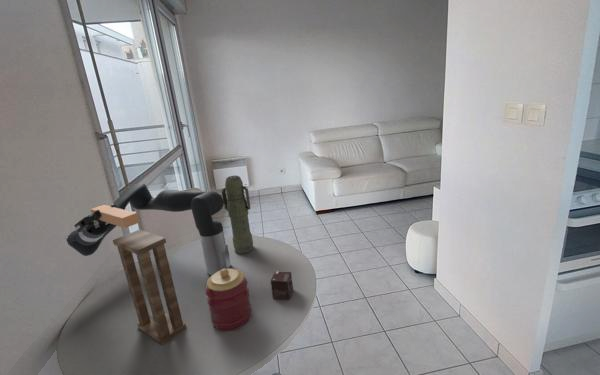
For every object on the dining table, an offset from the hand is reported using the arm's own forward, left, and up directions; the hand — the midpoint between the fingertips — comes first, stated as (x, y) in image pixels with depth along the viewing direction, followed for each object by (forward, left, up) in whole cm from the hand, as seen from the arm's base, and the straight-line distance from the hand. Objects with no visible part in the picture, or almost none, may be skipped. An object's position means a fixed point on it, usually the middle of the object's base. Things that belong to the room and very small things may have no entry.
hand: (106, 210), depth 94 cm
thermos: (-29, -42, -39) cm, 64 cm away
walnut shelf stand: (-11, +7, -38) cm, 41 cm away
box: (-49, -6, -39) cm, 63 cm away
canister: (-33, +4, -39) cm, 51 cm away
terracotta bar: (-3, +2, -3) cm, 5 cm away
